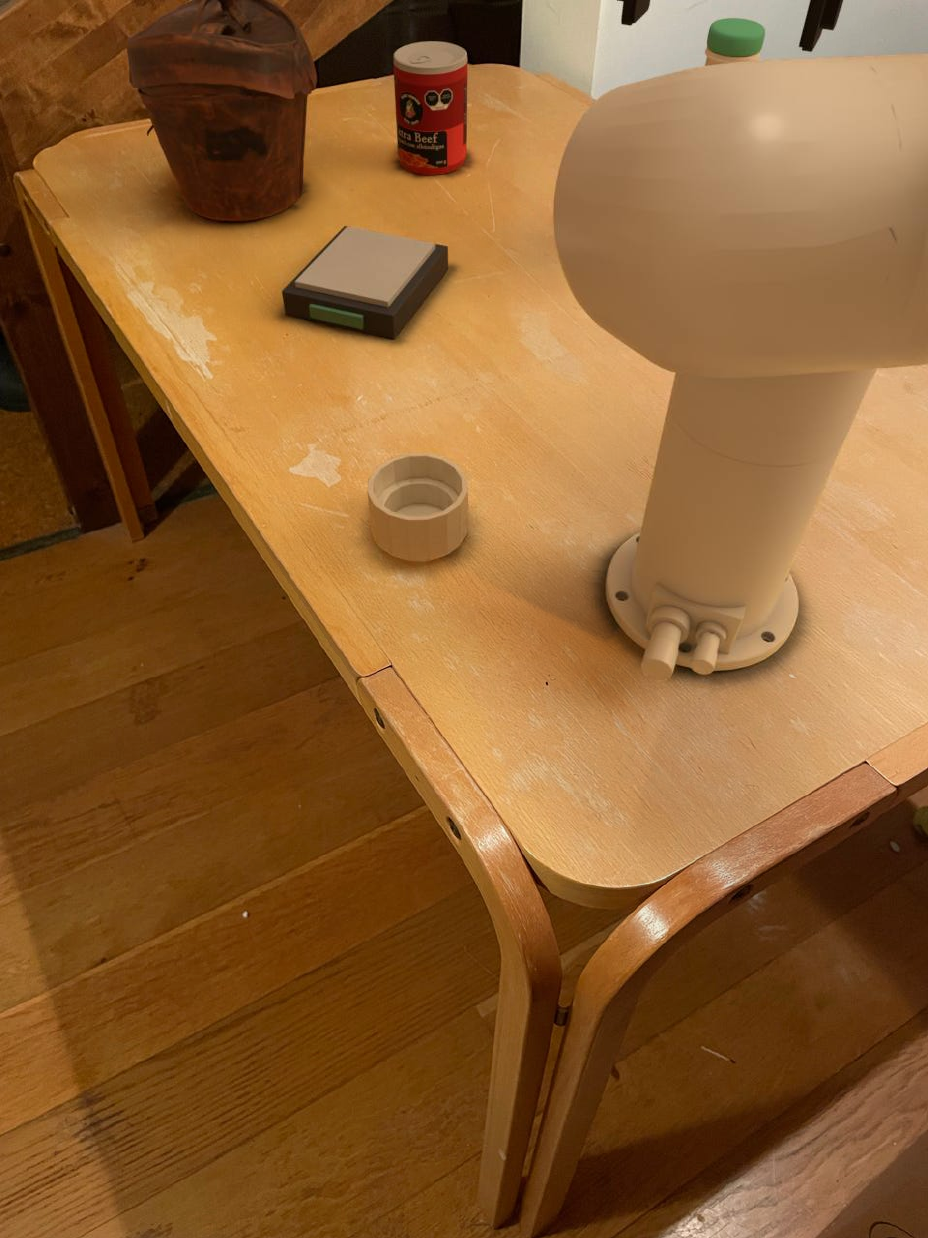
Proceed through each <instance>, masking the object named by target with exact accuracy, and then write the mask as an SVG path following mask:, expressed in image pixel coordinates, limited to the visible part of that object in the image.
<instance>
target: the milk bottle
mask: <svg viewBox="0 0 928 1238" xmlns="http://www.w3.org/2000/svg"><path fill="white" fill-rule="evenodd" d="M765 35H766V29H765V27H764V25H762V24H761V23H759V22H757V21H755V20H750V19H747V18H741V17H740V18H739V17H738V18H737V17H728V18H727V17H726V18H721V19H718V20H714V21H713V22H712V23H711V24H710V26H709V28H708V31H707V37H706V48H705V50H704V54H705V56H706V60H705V63H704V66H709V65H718V64H726V63H735V62H746V61H759V59H760V58H761V50H762V48H763V45H764V41H765Z"/></svg>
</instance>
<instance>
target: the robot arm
mask: <svg viewBox="0 0 928 1238" xmlns="http://www.w3.org/2000/svg"><path fill="white" fill-rule="evenodd" d="M616 1H617V2H622V10H621V18H620V21H621V22H620V23H621V25H622V26H623V25H624V26H628V27H629V26H630V27H631V26H632V25H634V24H636V23H638V21H639V20H640V19H641V18H642V17H643V16H644V15H646V13H647V12H648V11H649V9H650V5H651V0H616ZM843 3H844V0H809V4H808V8H807V12H806V15H805V20H804V22H803V27H802V31H801V36H800V39H799V43H798V48H801V51H802V52H810V53H813V50H814V49H815V48H816V45H817V43H818V42H819V40H820V37H821V36H822V33H823V30H827V31H834V30H835V28H836V26H837V24H838V22H839V21H838V20H839V18H840V14H841V10H842V7H843ZM554 187H555V188H554V194H553V205H552V206H553V208H552V220H553V222H552V223H553V234H554V242H555V246H556V252H557V256H558V260H559V264H560V268H561V270H562V273H563V276H564V278H565V280H566V282H567V283H566V284H567V285H568V287H569V290H570V291H571V293H572V295H573V297H574V298H575V300H576V302H577V303H578V305H579V306H580V308H581V310H583V312H584V313H585V314H586V315H587V316H588V317H589V318H590V319H591V320H592V322H594V323H595V324H596V325H598V326H599V327H600V328H601V329H602V330H603V331H605V332H606V333H608V334H610V335H611V336H612V337H614V339H617V340H618V341H619V342H621V343H623V345H625V346H627V347H628V348H629V349H631V350H632V351H634V352H635V353H637V354H638V355H640V356H641V357H643V358H644V359H646V360H647V361H649V362H650V363H652V364H653V365H656V366H657V367H659V368H661V369H663V370H665V371H668V372H670V373H675V374H674V377H673V381H672V386H671V391H670V396H669V400H668V405H667V409H666V414H665V418H664V424H663V426H662V431H661V436H660V440H659V445H658V450H657V455H656V458H655V463H654V468H653V471H652V472H653V473H652V478H651V482H650V487H649V490H648V494H647V495H648V496H647V500H646V505H645V508H644V513H643V518H642V522H641V527H640V530H639V531H638V532H636V533H635V534H633V535H631V536H629V538H628V539H626V540H625V541H624V542H623V543H622V544H621V545H620V546H619V547H618V548H617V550H616V551H615V553H614V554H613V556H612V558H611V560H610V562H609V565H608V568H607V572H606V573H607V574H606V579H605V598H606V601H607V605H608V608H609V611H610V612H611V614H612V616H613V618H614V619H615V622H616V624H617V625H618V626H619V627H620V628H621V630H622V631H623V632H624V633H625V635H626V636H627V637H628V638H630V639H631V640H632V641H633V642H634V643H636V644H637V645H638V646H639V647H640V648H642V649H643V650H644V654H643V656H642V660H641V664H640V666H639V668H640V670H641V673H642V674H643V675H644V676H646V677H647V678H649V679H652V680H655V681H665V680H668V679H671V676H673V673H674V671H675V670H674V669H675V666H676V665H677V666H681V667H685V668H688V669H692V671H693V672H695V673H697V674H698V675H703V676H706V675H710V674H712V673H713V672H714V671H715V672H717V671H732V670H733V671H734V670H737V669H743V668H747V667H750V666H753V665H755V664H758V663H760V662H762V661H764V660H766V659H768V658H769V657H770V656H772V655H773V654H774V653H776V652H777V651H779V649H780V648H781V647H782V646H783V645H784V644H785V643H786V642H787V640H788V638H789V636H790V634H791V633H792V631H793V628H794V626H795V624H796V621H797V618H798V615H799V601H800V600H799V595H798V590H797V586H796V584H795V582H794V579H793V577H792V575H791V573H790V570H791V568H792V566H793V563H794V561H795V559H796V556H797V554H798V551H799V549H800V547H801V545H802V542H803V540H804V538H805V535H806V532H807V530H808V528H809V526H810V523H811V521H812V519H813V516H814V513H815V511H816V509H817V507H818V504H819V502H820V500H821V497H822V495H823V492H824V490H825V488H826V485H827V482H828V480H829V478H830V475H831V473H832V471H833V468H834V466H835V464H836V462H837V459H838V457H839V455H840V452H841V449H842V448H843V445H844V443H845V440H846V439H847V437H848V435H849V433H850V431H851V428H852V425H853V423H854V421H855V418H856V416H857V413H858V411H859V409H860V407H861V405H862V403H863V400H864V398H865V395H866V393H867V391H868V389H869V387H870V385H871V382H872V380H873V378H874V377H875V374H876V373H877V371H878V370H879V369H893V368H894V369H895V368H905V367H916V366H917V367H918V366H925V365H927V366H928V53H897V54H873V55H871V54H870V55H845V56H826V57H825V56H824V57H823V56H822V57H802V58H779V59H761V60H757V61H746V62H735V63H726V64H718V65H709V66H705V65H703V66H697V67H691V68H686V69H682V70H678V71H674V72H670V73H666V74H662V75H658V76H655V77H651V78H647V79H643V80H639V81H635V82H632V83H628V84H623V85H619V86H617V87H615V88H613V89H610V90H609V91H607V92H605V93H603V94H602V95H601V96H600V97H599V98H597V99H596V100H595V101H594V102H593V103H592V104H591V105H590V106H589V107H588V108H587V110H586V111H585V112H584V113H583V115H582V116H581V117H580V118H579V121H578V122H577V124H576V125H575V127H574V128H573V131H572V132H571V135H570V137H569V139H568V142H567V143H566V146H565V149H564V151H563V155H562V156H561V160H560V163H559V167H558V171H557V176H556V181H555V186H554Z"/></svg>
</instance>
